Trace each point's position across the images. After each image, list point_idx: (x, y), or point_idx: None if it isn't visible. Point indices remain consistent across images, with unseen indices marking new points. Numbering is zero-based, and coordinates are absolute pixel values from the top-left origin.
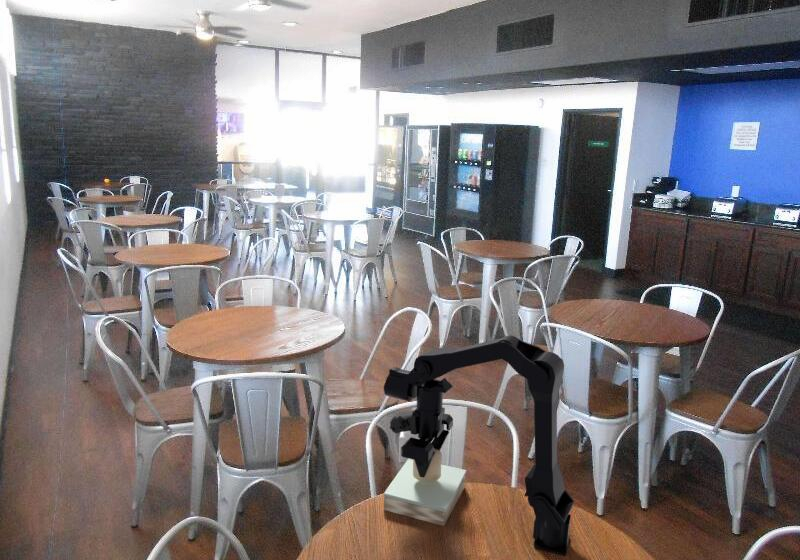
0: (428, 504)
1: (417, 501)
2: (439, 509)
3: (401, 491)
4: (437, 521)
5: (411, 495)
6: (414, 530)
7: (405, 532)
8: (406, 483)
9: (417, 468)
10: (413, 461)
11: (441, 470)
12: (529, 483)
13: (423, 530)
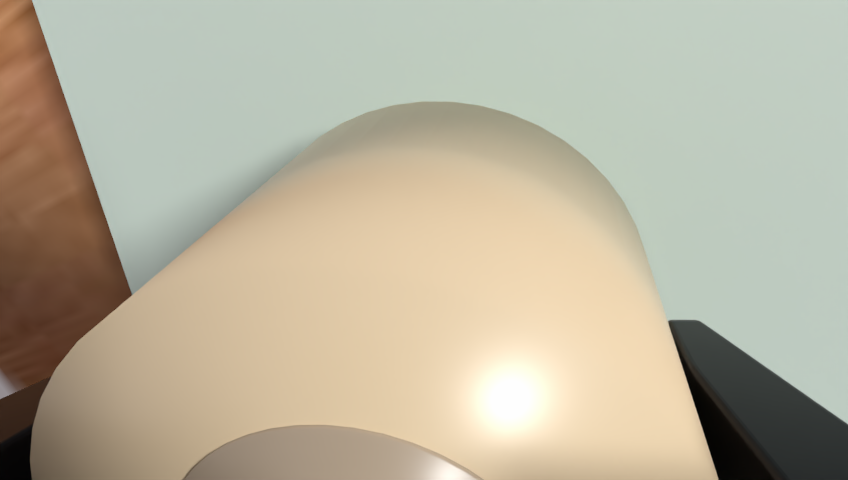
0: None
1: (127, 268)
2: None
3: (146, 53)
4: None
5: (159, 185)
6: (88, 239)
7: (31, 194)
8: (306, 36)
9: (44, 387)
10: (201, 237)
11: (769, 337)
12: None
13: (128, 289)
